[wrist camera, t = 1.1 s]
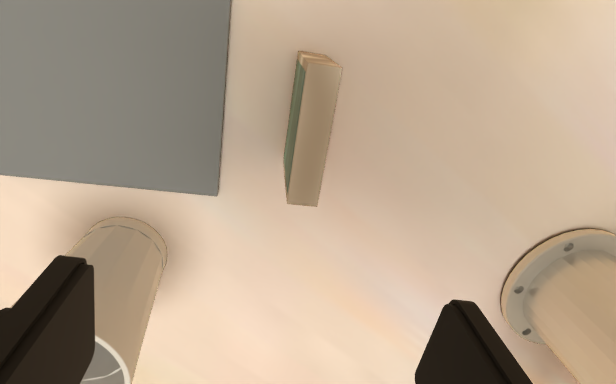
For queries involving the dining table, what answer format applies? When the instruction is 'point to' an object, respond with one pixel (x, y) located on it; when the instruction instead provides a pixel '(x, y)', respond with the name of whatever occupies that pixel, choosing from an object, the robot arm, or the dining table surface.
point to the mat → (114, 92)
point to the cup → (120, 293)
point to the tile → (309, 126)
